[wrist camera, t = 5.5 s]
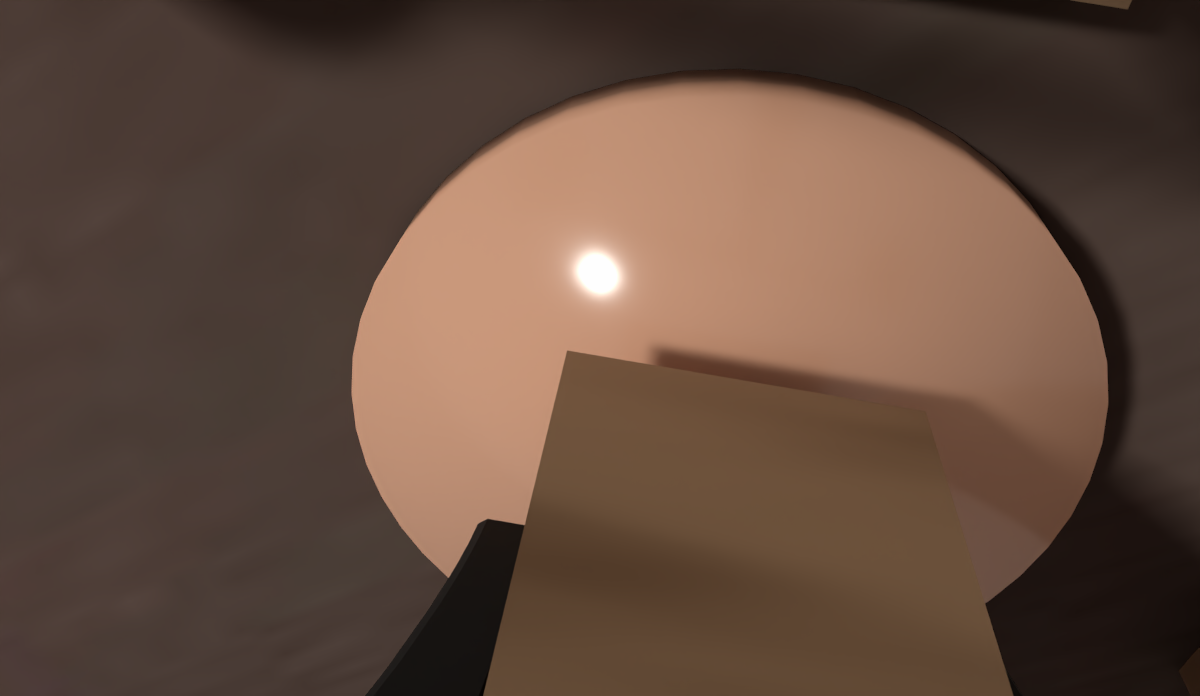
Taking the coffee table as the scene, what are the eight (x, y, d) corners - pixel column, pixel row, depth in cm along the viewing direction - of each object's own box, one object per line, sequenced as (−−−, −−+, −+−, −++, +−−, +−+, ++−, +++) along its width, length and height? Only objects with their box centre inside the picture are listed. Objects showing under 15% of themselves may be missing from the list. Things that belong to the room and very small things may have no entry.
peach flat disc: (930, 673, 17) (941, 720, 16) (379, 578, 17) (362, 619, 16) (1241, 147, 11) (1283, 180, 10) (361, 3, 11) (333, 25, 10)
